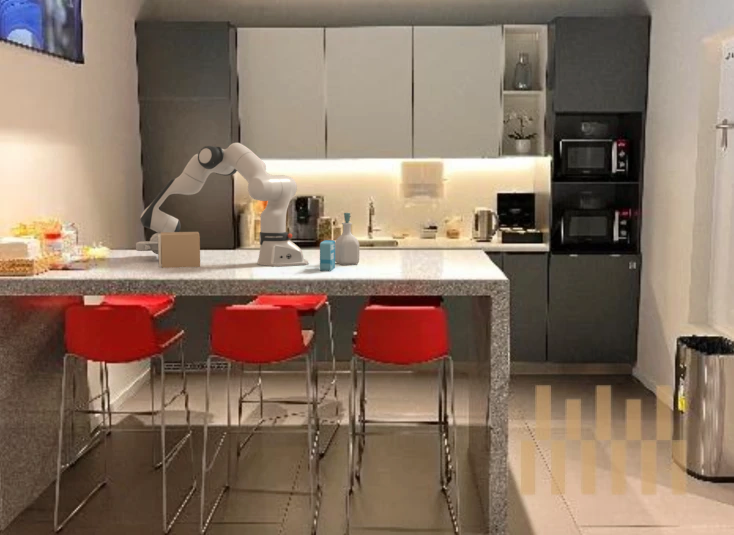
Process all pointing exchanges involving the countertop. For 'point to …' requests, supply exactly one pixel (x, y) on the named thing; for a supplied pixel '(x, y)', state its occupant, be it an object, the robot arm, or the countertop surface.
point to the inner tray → (159, 250)
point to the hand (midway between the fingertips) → (159, 247)
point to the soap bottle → (347, 245)
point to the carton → (180, 249)
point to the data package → (327, 255)
